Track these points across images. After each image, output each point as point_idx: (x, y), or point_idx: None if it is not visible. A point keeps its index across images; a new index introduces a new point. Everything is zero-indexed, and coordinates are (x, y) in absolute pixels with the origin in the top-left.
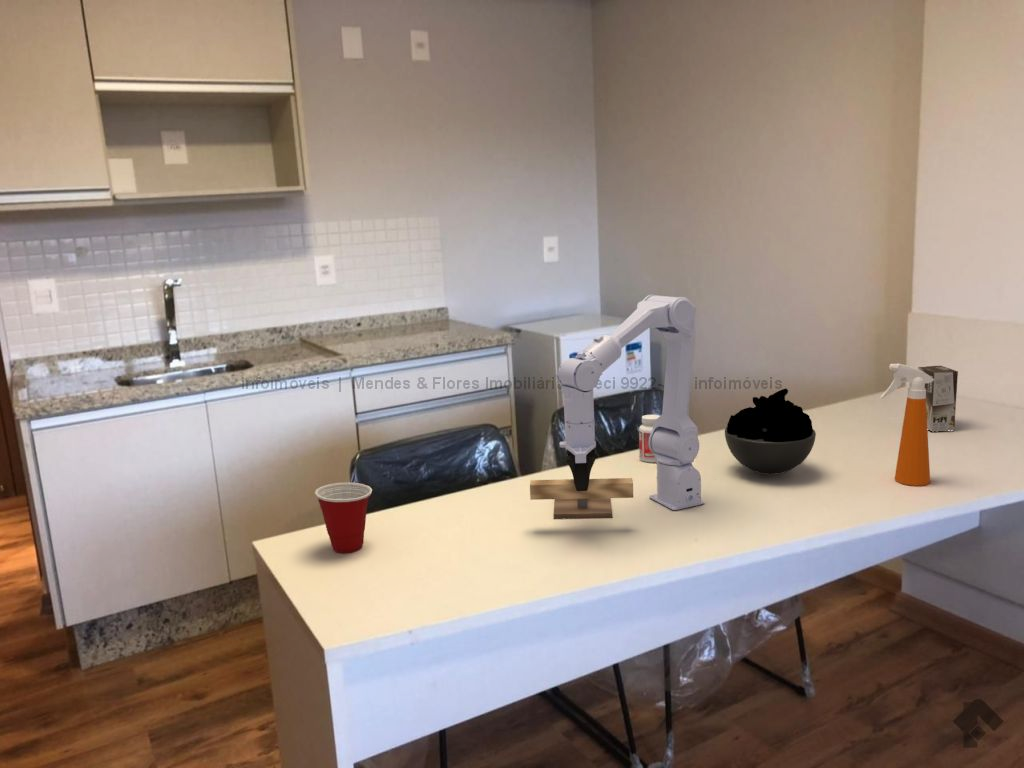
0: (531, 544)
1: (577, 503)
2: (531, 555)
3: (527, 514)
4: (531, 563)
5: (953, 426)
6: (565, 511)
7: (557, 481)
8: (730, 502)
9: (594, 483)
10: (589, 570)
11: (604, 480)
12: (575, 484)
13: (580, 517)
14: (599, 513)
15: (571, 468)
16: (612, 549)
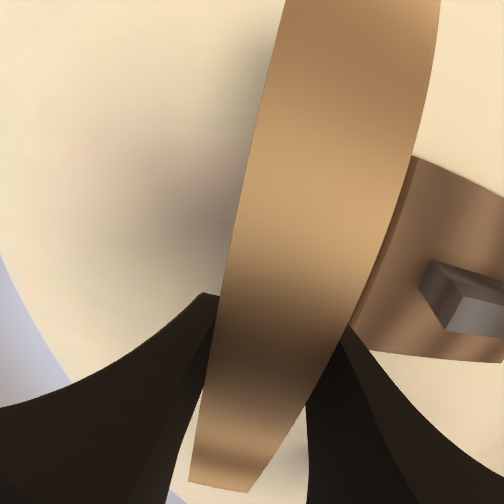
0: (186, 28)
1: (467, 268)
2: (104, 32)
3: (472, 84)
4: (60, 40)
5: None
6: (426, 209)
7: (341, 190)
8: None
9: (206, 407)
10: (14, 187)
11: (244, 445)
12: (180, 315)
13: (380, 248)
14: (359, 313)
15: (48, 398)
16: (108, 271)
